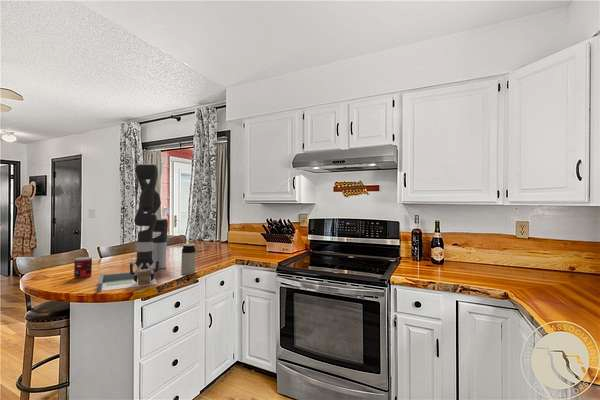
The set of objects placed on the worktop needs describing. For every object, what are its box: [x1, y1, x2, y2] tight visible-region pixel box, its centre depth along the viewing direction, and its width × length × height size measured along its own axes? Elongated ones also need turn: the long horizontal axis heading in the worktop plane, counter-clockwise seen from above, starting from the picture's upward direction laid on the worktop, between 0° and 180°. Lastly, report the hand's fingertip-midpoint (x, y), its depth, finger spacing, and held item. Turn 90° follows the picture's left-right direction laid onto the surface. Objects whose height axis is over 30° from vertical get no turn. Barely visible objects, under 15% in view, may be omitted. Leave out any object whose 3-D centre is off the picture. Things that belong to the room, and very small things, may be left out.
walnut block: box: [138, 268, 150, 287], centre depth 152 cm, size 10×5×6 cm, turn 32°
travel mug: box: [180, 243, 196, 276], centre depth 177 cm, size 8×8×18 cm
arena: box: [97, 270, 158, 292], centre depth 152 cm, size 20×26×4 cm
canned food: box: [73, 256, 93, 280], centre depth 163 cm, size 8×8×11 cm
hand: (143, 281), depth 152 cm, fingers open, 6 cm apart
